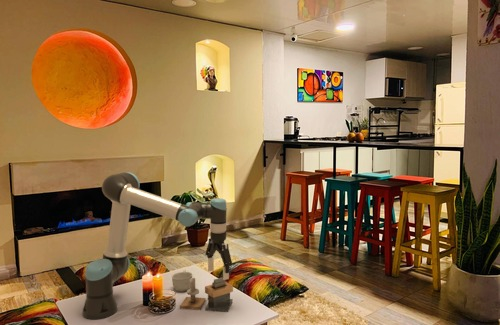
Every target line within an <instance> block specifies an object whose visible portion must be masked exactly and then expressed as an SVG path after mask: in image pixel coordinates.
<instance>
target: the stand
mask: <svg viewBox="0 0 500 325" xmlns="http://www.w3.org/2000/svg"><path fill="white" fill-rule="evenodd" d="M199 292H200V290H199V289H198V288H196V278H195V277H192V278H190V289H188V290H187V291H186V294H187V295H188V296H185V298H184V299H183V301H182V302H181V303H180V305H179V310H180V309H181V310H196V311H201V310H202V308H203V306H204V305H205V302H206V301H207V299H206V297H199V296H198V297H196V295H198V294H199Z"/></svg>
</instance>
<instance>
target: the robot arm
mask: <svg viewBox="0 0 500 325" xmlns="http://www.w3.org/2000/svg"><path fill="white" fill-rule="evenodd" d="M140 184H141V183H140V179H139V178H138V176H136V175H135V174H134V173H132V172H123V171H122V172H120V173H116V174H111V175H109V176H107V177H106V178H105V179H104V180H103V182H102V185H101V191H102V193H103V195H104V197H106V198H107V199H108V200H110V201H111V202H112V204H111V212H110V222H109V227H108V228H109V229H108V238H107V246H106V249H105V250H104V251H103V252H102V258H100V259H96V260H93V261H91V262H89V263H88V264H87V265H86V266H85V273H84V276H85V293H86V294H85V296H86V298H85V302H84V305H83V307H82V316H83V318H85V319H88V320H101V319H105V318H109V317H111V316H113V315H115V314H116V313H117V311H118V303H117V300H116V298H115V295H114V287H113V286H114V284H113V283H115V282H116V281H118V280H119V279H121V278H122V277H123V276H125V275H126V273H127V272H128V270H129V269H130V266H131V262H130V258H129V257H128V251H127V250H126V246H127V236H128V229H129V228H128V227H129V220H130V213H131V212H130V211H131V206H134V207H137V208H140V209H142V210H146V211H149V212H151V213H154V214H158V215H161V216H163V217H166V218H168V219H172V220H175V221H177V222H179V224H180V225H181V226H183V227H191V226H192V225H195V224H196V223H197V222H198V221H199V220H200V219H202V220H203V219H204V220H205V219H206V220H208V219H209V220H210V233H209V234H210V235H209V236H210V237H209V238H208V243H207V246H206V251H205V253H204V254H205V256H207V271H208V272H213V271H214V269H215V268H214V267H215V266H214V260H215V259H214V257H215V254H216V252H217V253H218V254H219V255H220V257H221V260H222V263H223V266H222V269H223V270H222V278H223V280H224V281H227V280H229V279H230V266H232V265H233V262H232V258H231V252H230V249H229V244H228V243H227V244H226V243H225V241H226V239H227V232H226V231H227V209H228V208H227V200H226V198H225V199H224V198H216V197H215V198H212V199H210V202H196V201H192V202H191V201H190V202H187V203H186V204H182V203H179V202H176V201H174V200H171V199H169V198H165V197H161V196H159V195H157V194H154V193H151V192H147V191H145V190H142V189H140Z"/></svg>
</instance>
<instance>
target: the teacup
mask: <svg viewBox="0 0 500 325" xmlns="http://www.w3.org/2000/svg"><path fill="white" fill-rule="evenodd" d="M190 278H193V273H192V272H190V271H186V270H183V271H180V272H179V271H178V272H175V273H174V274H172V275H171V279H172V280H171V282H172V287H173V289H174V290H176V292H177V291H178V292H187V290H189V289H190Z"/></svg>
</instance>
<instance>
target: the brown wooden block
mask: <svg viewBox="0 0 500 325" xmlns="http://www.w3.org/2000/svg"><path fill="white" fill-rule="evenodd" d="M233 292H234V285H233V284H231V283H229V282H228V281H226V286H224V287H221V288H217V289H213V288H212V284H209V285H206V286H204V293H205V294H207V296H208V295H210V296H211V297H213V298H214V297H217V296H221V295H224V294H227V293H230V294H231V293H233Z"/></svg>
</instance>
